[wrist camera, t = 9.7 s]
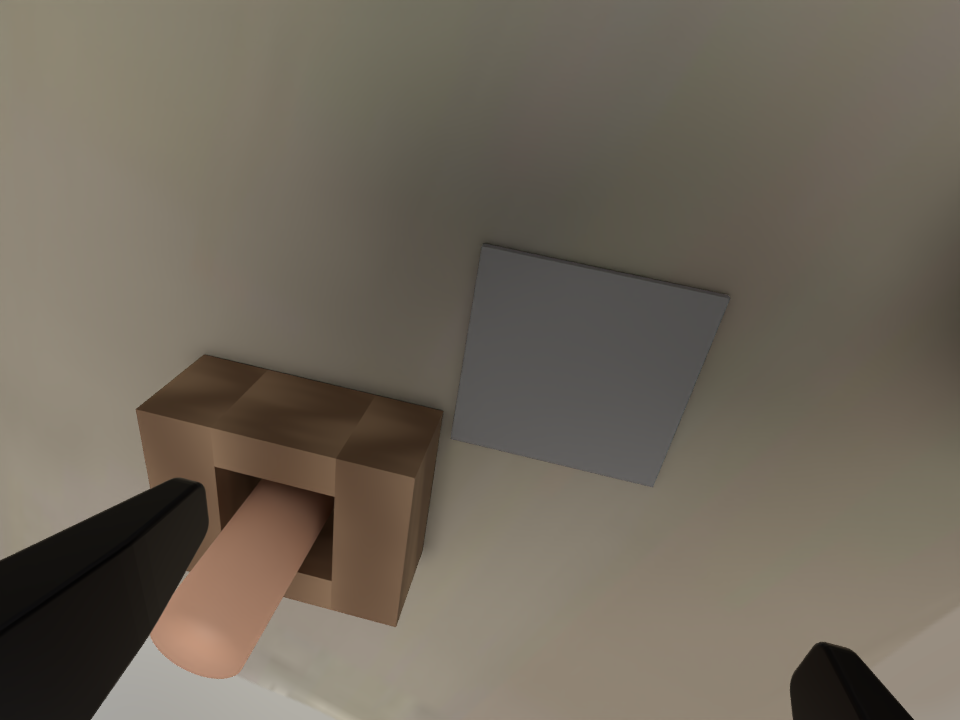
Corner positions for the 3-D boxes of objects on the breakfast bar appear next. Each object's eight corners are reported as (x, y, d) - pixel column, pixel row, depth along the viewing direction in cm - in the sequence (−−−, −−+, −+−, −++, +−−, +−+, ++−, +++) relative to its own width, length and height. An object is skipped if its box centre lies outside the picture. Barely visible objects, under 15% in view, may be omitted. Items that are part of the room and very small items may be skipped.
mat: (727, 294, 18) (730, 298, 18) (652, 482, 22) (652, 487, 22) (483, 243, 19) (481, 246, 19) (452, 434, 23) (450, 438, 23)
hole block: (443, 411, 23) (414, 478, 19) (422, 551, 27) (395, 627, 23) (204, 354, 23) (135, 409, 20) (218, 498, 28) (164, 564, 24)
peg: (356, 440, 24) (240, 628, 16) (353, 492, 26) (246, 688, 18) (288, 423, 24) (143, 602, 17) (289, 476, 26) (156, 663, 18)
